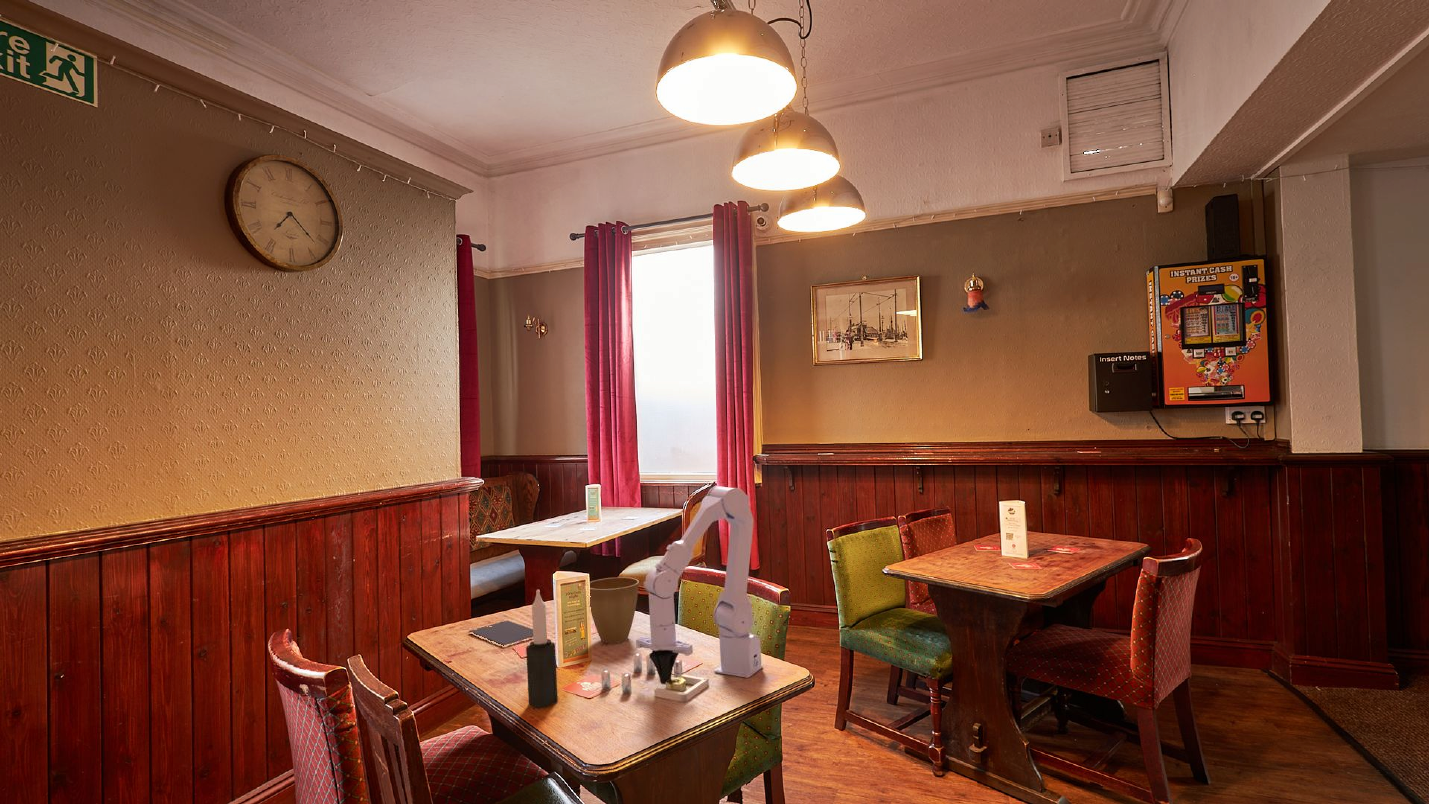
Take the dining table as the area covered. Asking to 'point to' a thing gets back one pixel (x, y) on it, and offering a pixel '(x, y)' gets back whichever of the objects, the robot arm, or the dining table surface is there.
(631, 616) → the plant pot
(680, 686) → the brass nut
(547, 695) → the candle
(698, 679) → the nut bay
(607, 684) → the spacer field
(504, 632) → the notebook
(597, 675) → the dining table surface
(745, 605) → the robot arm
